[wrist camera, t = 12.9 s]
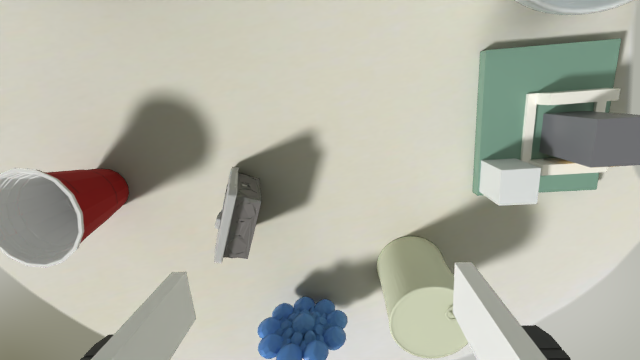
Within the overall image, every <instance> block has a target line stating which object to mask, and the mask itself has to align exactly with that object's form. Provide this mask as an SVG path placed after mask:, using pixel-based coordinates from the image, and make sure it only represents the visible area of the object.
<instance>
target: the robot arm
mask: <svg viewBox="0 0 640 360" xmlns="http://www.w3.org/2000/svg"><path fill="white" fill-rule="evenodd" d="M453 314H454V316H455V318H456V320H457V322H458V324H459V326H460V328H461V330H462V332H463V333H464V335H465V337H466V339H467V341H468V343H469V345H470V347H471V349H472V351H473V353H474V355H475V357H476V359H477V360H570V357H569V356H568V355H567V354H566V353H565V351H564V350H562V349H561V347H560V346H559V344H557V342H556V341H555V340H554V339H553V338H552V337H551V335H549V334H548V333H546V332H545V331H543V330H542V329H540V328H539V327H538V326H536V325H534V326H521V325H520V324H519V322H518V321H517V320H516V319H515V317H514V316H513V315H512V313H511V312H510V311H509V310H508V308H507V307H506V306H505V304H504V303H503V302H502V301H501V299H500V298H499V297H498V295H497V294H496V293H495V291H494V290H493V289H492V288H491V286H490V285H489V284H488V282H487V281H486V280H485V279H484V277H483V276H482V275H481V273H480V272H479V271H478V270H477V268H476V267H475V266H474V264H473V263H472V262H455V269H454V293H453ZM195 319H196V315H195V311H194V306H193V301H192V297H191V292H190V287H189V282H188V278H187V273H186V272H172V273H171V274H170V275H169V276H168V277H167V278H166V279H165V280H164V281H163V282H162V283H161V285H160V286H159V287H158V288H157V289H156V290H155V291H154V292H153V293H152V294H151V295H150V296H149V297H148V299H147V300H146V301H145V302H144V303H143V304H142V305H141V306H140V307H139V308H138V309H137V310H136V311H135V313H134V314H133V315H132V316H131V317H130V318H129V319H128V320H127V321H126V322H125V323H124V324H123V325H122V327H121V328H120V329H119V330H118V331H117V332H116V333H115V334H114V335H108V336H106V337H105V338H104V339H102V340H101V341H99V342H98V343H96V344H95V345H94V346H93V347H92V348H91V349H90V350H89V351H88V352H87V353H86V354H85V355H84V358H81V359H80V360H170V359H171V357H172V356H173V354H174V353H175V351H176V349H177V348H178V346H179V345H180V343H181V341H182V340H183V338H184V337H185V335H186V334H187V332H188V330H189V329H190V327H191V326H192V324H193V322H194V321H195Z"/></svg>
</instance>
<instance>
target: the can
mask: <svg viewBox="0 0 640 360" xmlns="http://www.w3.org/2000/svg"><path fill="white" fill-rule="evenodd" d="M377 273H378V276H379V279H380V281H381V285H382V290H383V294H384V299H385V304H386V309H387V314H388V319H389V328H390V332H391V335H392V337H393V339H394V340H395V342H396V343H397V344H398V345H399V346H400V347H401V348H402V349H403V350H405V351H406V352H408V353H410V354H412V355H415V356H418V357H422V358H441V357H445V356H448V355H451V354H454V353H456V352H457V351H459V350H461V349H462V348H463V347H464V346H466V345H467V344H468V341H467V339H466V337H465V335H464V333H463V332H462V330H461V328H460V326H459V324H458V322H457V320H456V318H455V316H454V314H453V293H454V276H453V274H452V273H451V271H450V269H449V268H448V266H447V264H446V263H445V261H444V259H443V257H442V254H441V252H440V251H439V249H438V248H437V247H436V246H435V245H434V244H433V243H432V242H430V241H428V240H426V239H424V238H421V237H414V236H409V237H402V238H399V239H396V240H394V241H392V242H391V243H389V244H388V245H387V246H386V247H385V248H384V249H383V250H382V252H381V253H380V255H379V258H378V261H377Z"/></svg>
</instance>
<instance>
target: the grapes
mask: <svg viewBox="0 0 640 360" xmlns="http://www.w3.org/2000/svg"><path fill="white" fill-rule="evenodd" d="M346 324H347V316H346V315H345V313H344V312H342V311H340V310H335V305H334V304H333V302H332V301H330V300H328V299H323V300H321V301H319V302H318V303H317V304H316V305H315V302H314V301H313V299H311V298H309V297H302V298H300V299H298V300H297V301H296V303H295V304H294V308H293V306H291V305H290V304H287V303H282V304H280V305H278V306H277V307H276V308H275V309H274V311H273V313H272V317H269V318H267V319H265V320H264V321H262V322H261V324H260V325H259V327H258V335H259V337H260V338H262V340H261V341H260V343H259V346H258V351H259V353H260V355H261V356H262V357H264V358H266V359H271V358H274V357H276V356H277V357H276V360H302V358H303V359H304V360H326V358H327V356H328V354H329V353H328V349H329V350H337V349H339V348H340V347H341V346H342V345H343V344H344V342H345V340H346V333H345V332H344V330H343V328H345V326H346Z"/></svg>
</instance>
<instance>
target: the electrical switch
mask: <svg viewBox="0 0 640 360" xmlns="http://www.w3.org/2000/svg"><path fill="white" fill-rule="evenodd" d="M238 170H239V168H238V167H232V169H231V172H230V176H229V180H228V184H227V189H226V193H225V198H224V203H223V209H222V210H221V212H220V213H219V215H218V216H217V219H216V223H215V228H217V229H218V235H217V241H216V247H215V259H214V262H215V263H222V261H223V257H229V258H237V257H238V258H246V259H248V255H249V251H250V247H251V243H252V238H253V234H254V230H255V226H256V222H257V218H258V214H259V209H260V205H261V201H259V200H261V191H260V182H259V178H255V177H250V176H248V175H244V174H240V173H238ZM254 199H255V200H254Z"/></svg>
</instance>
